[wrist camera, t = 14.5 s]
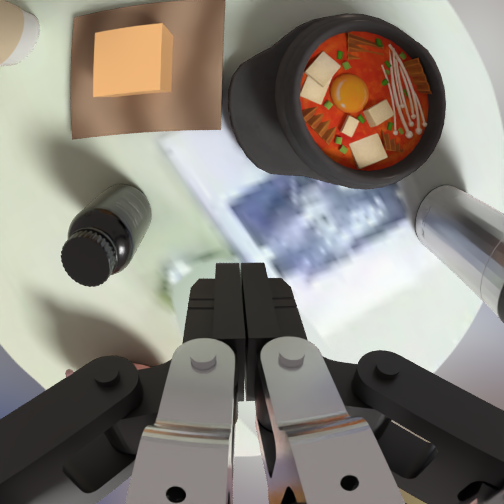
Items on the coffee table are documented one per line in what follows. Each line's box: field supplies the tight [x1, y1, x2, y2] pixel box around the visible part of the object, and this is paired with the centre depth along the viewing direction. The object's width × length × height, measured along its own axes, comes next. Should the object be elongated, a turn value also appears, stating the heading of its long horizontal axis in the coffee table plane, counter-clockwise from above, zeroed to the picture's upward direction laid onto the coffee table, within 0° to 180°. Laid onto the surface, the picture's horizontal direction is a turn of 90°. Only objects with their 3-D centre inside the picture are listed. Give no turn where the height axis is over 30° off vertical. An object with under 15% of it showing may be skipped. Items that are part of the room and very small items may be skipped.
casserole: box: [228, 14, 446, 189], centre depth 27 cm, size 25×19×8 cm
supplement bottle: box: [61, 184, 152, 287], centre depth 29 cm, size 7×7×12 cm
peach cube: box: [93, 23, 173, 97], centre depth 24 cm, size 6×6×6 cm
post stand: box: [71, 0, 225, 140], centre depth 25 cm, size 16×14×6 cm
